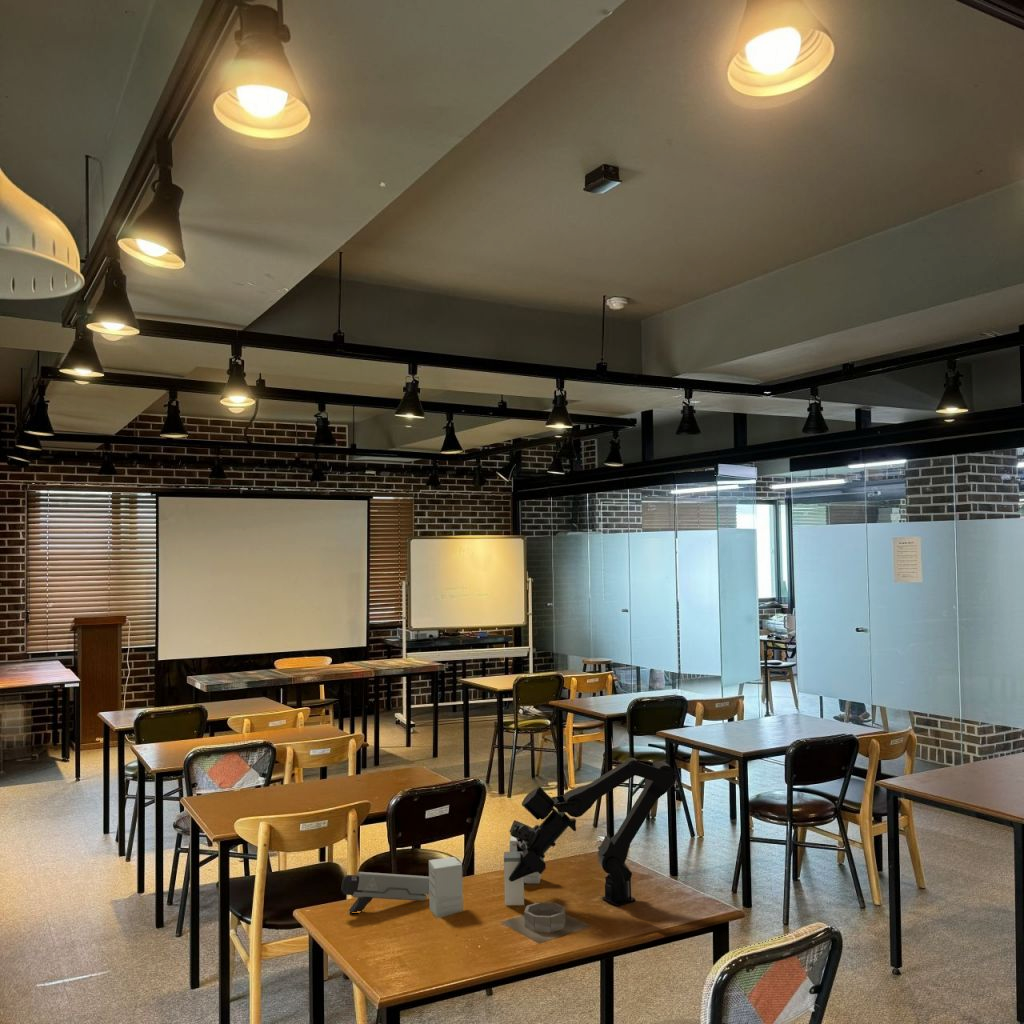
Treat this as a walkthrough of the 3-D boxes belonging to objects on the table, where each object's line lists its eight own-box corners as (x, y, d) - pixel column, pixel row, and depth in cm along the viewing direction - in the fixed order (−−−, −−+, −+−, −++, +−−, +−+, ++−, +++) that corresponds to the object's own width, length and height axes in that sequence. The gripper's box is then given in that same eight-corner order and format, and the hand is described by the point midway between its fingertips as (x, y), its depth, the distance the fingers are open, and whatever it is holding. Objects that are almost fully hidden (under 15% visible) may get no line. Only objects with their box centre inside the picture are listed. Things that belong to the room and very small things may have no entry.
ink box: (509, 883, 248) (508, 840, 249) (511, 877, 253) (510, 835, 254) (539, 884, 247) (538, 841, 248) (541, 877, 252) (540, 835, 253)
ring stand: (550, 911, 226) (550, 893, 226) (591, 931, 213) (591, 911, 213) (499, 927, 217) (499, 907, 217) (539, 948, 204) (538, 927, 204)
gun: (335, 910, 227) (343, 870, 229) (424, 914, 238) (431, 876, 239) (337, 913, 225) (346, 873, 227) (427, 918, 235) (434, 879, 237)
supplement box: (456, 905, 232) (455, 856, 233) (463, 915, 225) (462, 864, 226) (428, 909, 230) (428, 859, 231) (435, 919, 223) (434, 868, 224)
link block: (524, 897, 233) (522, 851, 234) (524, 904, 228) (523, 857, 229) (505, 898, 233) (504, 851, 234) (505, 905, 228) (503, 857, 229)
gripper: (523, 801, 242) (484, 845, 240) (531, 820, 223) (489, 867, 221) (552, 829, 242) (513, 873, 240) (563, 850, 224) (521, 897, 222)
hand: (508, 876), depth 231 cm, fingers closed on link block, 5 cm apart
